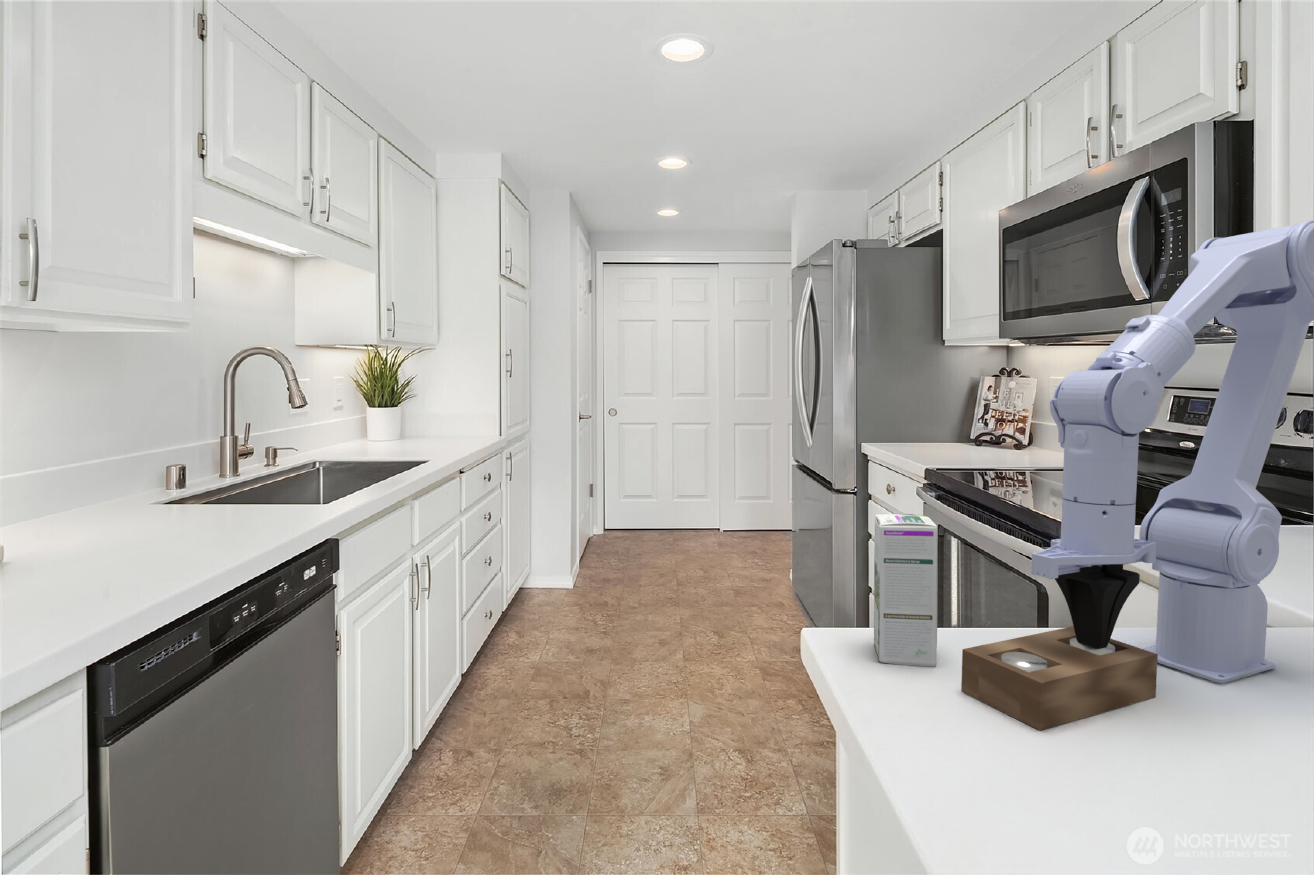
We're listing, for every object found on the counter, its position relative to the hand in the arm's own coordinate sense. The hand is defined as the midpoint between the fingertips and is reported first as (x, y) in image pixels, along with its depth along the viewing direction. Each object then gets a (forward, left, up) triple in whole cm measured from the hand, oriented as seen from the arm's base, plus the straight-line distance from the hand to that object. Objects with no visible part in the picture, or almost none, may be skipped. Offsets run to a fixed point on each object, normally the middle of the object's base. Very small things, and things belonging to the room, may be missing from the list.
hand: (1091, 644), depth 65 cm
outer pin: (+9, 0, -4) cm, 10 cm away
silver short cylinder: (0, 0, -4) cm, 4 cm away
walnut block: (+4, 0, -4) cm, 6 cm away
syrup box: (+10, -13, -4) cm, 17 cm away
